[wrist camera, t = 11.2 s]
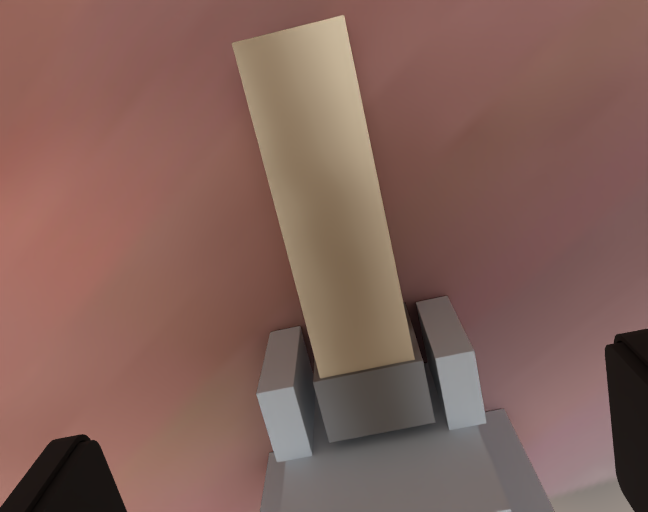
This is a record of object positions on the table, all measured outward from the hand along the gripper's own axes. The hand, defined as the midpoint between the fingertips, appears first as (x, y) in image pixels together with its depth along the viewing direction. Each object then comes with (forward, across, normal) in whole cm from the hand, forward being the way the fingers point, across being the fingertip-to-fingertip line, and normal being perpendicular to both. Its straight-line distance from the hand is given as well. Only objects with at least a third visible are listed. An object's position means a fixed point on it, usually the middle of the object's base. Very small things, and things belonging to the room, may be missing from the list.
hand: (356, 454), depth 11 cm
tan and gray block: (+19, 0, 0) cm, 19 cm away
